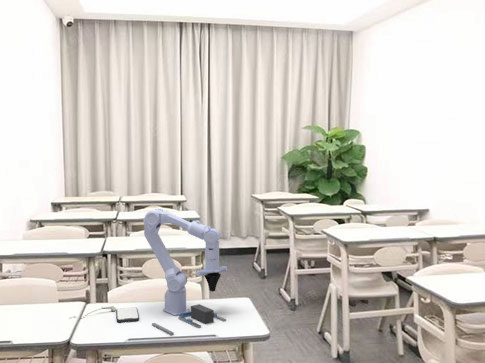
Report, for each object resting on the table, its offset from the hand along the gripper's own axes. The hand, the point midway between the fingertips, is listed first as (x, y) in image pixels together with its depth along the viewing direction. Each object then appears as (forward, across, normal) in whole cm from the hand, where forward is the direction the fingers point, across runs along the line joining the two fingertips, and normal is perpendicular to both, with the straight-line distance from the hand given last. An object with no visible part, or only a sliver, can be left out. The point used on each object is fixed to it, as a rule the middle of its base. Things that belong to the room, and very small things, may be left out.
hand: (212, 290), depth 205 cm
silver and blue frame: (+9, -14, -4) cm, 17 cm away
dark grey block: (+10, -8, -4) cm, 13 cm away
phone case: (+10, -29, +19) cm, 36 cm away
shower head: (+10, -39, +30) cm, 50 cm away
